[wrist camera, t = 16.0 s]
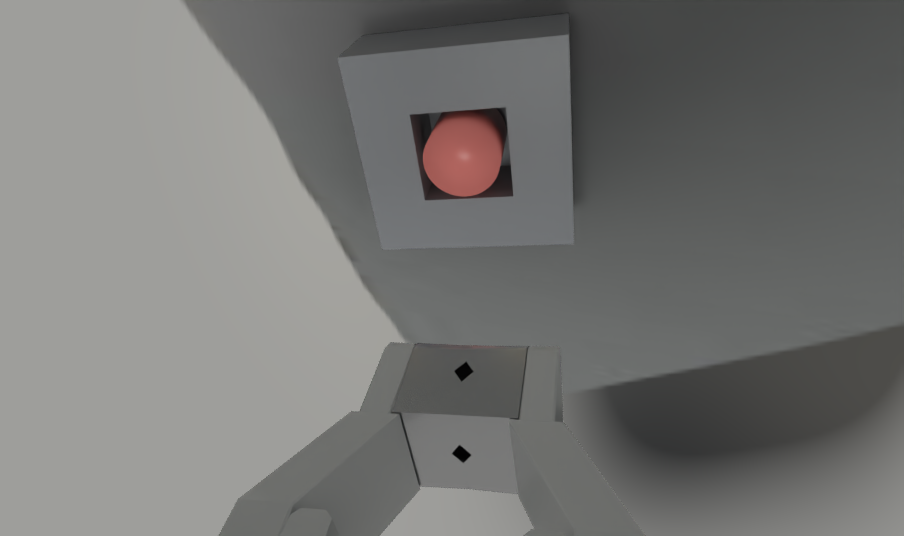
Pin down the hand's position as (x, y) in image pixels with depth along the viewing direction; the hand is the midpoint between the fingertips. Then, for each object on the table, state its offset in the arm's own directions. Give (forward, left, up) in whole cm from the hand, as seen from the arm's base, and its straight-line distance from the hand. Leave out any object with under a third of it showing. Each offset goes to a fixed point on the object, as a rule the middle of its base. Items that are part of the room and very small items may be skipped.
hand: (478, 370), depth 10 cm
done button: (+3, +4, -21) cm, 22 cm away
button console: (+3, +4, -22) cm, 23 cm away
